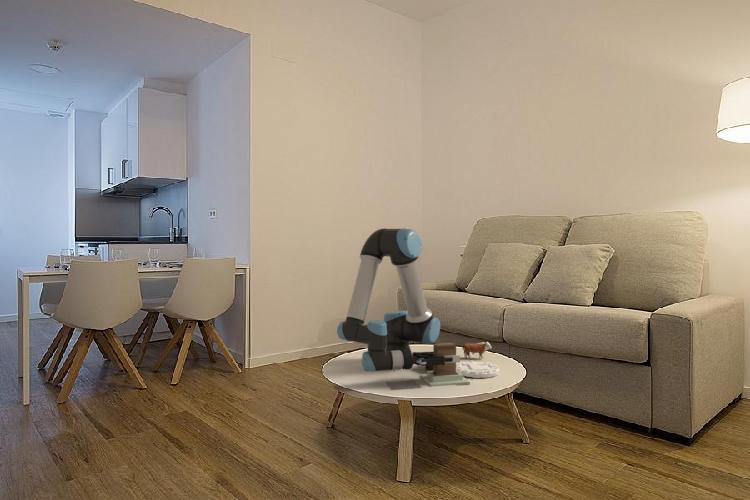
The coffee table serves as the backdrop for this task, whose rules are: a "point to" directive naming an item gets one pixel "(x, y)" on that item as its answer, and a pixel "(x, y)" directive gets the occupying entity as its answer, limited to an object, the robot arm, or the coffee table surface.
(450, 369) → the brown wooden block
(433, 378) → the tray
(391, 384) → the mat
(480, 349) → the bull figurine
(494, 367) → the white textured flat disc
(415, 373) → the coffee table surface
